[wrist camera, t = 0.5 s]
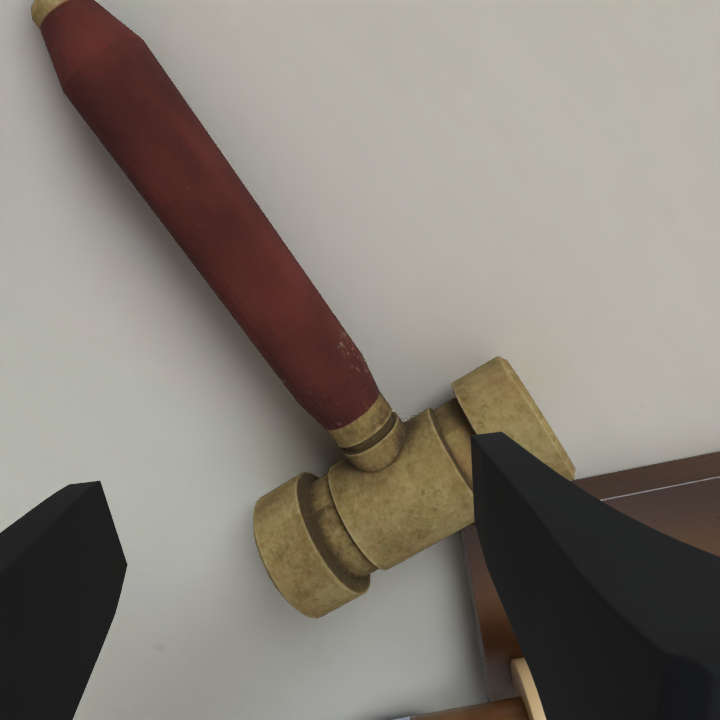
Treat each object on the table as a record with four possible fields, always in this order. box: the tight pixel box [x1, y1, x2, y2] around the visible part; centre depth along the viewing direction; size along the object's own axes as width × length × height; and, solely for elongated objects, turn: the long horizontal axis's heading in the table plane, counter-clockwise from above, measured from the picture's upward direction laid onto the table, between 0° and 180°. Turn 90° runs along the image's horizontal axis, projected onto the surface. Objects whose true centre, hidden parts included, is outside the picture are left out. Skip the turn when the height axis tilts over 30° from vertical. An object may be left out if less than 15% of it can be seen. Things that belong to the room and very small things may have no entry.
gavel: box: [31, 0, 575, 618], centre depth 19 cm, size 21×5×10 cm
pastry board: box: [459, 452, 720, 702], centre depth 26 cm, size 12×14×2 cm
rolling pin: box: [410, 657, 546, 720], centre depth 24 cm, size 5×21×5 cm, turn 101°
